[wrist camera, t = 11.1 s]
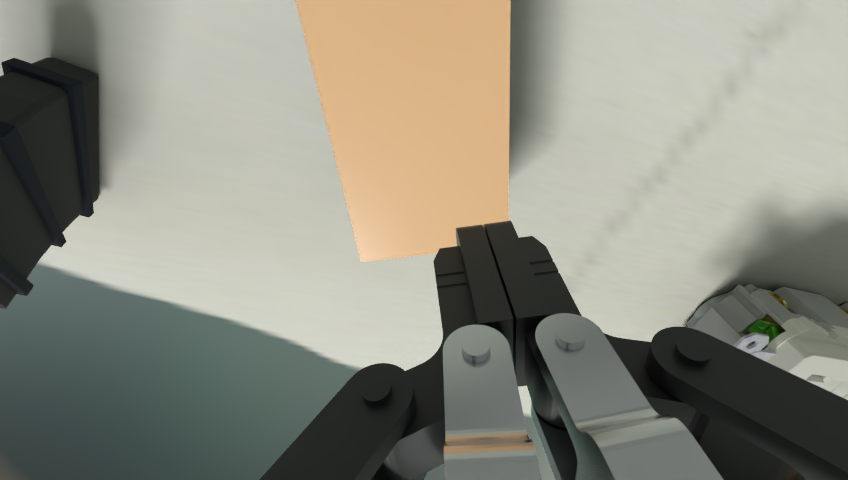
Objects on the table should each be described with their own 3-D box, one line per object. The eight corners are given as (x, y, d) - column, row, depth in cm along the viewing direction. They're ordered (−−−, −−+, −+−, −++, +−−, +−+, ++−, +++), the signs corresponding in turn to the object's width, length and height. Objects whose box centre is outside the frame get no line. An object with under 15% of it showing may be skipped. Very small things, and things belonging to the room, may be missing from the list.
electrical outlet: (698, 258, 41) (780, 335, 33) (878, 300, 50) (979, 370, 41) (630, 337, 47) (685, 418, 39) (800, 362, 56) (875, 434, 48)
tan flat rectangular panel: (268, -125, 19) (263, -127, 18) (508, -158, 19) (512, -162, 18) (361, 255, 32) (361, 262, 31) (506, 238, 31) (508, 244, 31)
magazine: (90, 31, 26) (-91, 232, 18) (130, 158, 37) (27, 320, 29) (19, 4, 25) (-206, 206, 17) (82, 143, 36) (-39, 306, 28)
